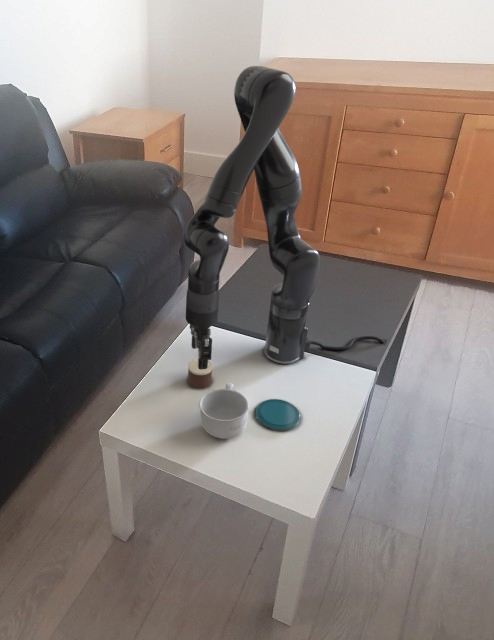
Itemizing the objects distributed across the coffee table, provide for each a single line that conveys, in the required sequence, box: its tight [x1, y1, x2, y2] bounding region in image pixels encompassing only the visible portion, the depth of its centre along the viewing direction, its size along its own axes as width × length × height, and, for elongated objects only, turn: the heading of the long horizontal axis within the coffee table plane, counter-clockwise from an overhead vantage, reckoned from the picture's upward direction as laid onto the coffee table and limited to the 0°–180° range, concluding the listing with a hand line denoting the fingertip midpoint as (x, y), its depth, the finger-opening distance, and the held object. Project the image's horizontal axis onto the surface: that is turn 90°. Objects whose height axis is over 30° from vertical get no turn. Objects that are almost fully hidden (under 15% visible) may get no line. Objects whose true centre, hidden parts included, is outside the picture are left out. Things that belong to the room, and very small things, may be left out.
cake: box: [187, 358, 213, 390], centre depth 151 cm, size 6×6×5 cm
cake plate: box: [255, 398, 301, 432], centre depth 140 cm, size 10×10×1 cm
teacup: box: [198, 382, 249, 439], centre depth 136 cm, size 14×11×8 cm
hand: (199, 357), depth 148 cm, fingers open, 8 cm apart
